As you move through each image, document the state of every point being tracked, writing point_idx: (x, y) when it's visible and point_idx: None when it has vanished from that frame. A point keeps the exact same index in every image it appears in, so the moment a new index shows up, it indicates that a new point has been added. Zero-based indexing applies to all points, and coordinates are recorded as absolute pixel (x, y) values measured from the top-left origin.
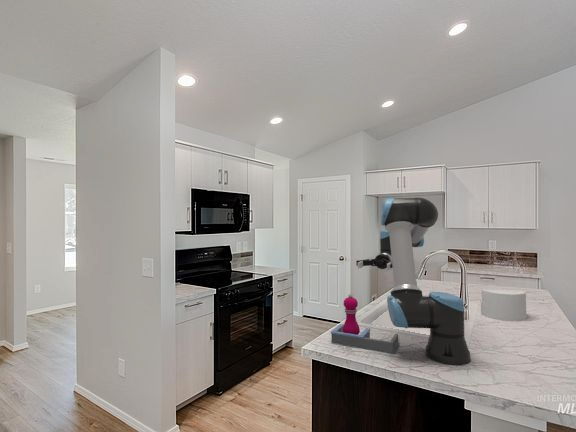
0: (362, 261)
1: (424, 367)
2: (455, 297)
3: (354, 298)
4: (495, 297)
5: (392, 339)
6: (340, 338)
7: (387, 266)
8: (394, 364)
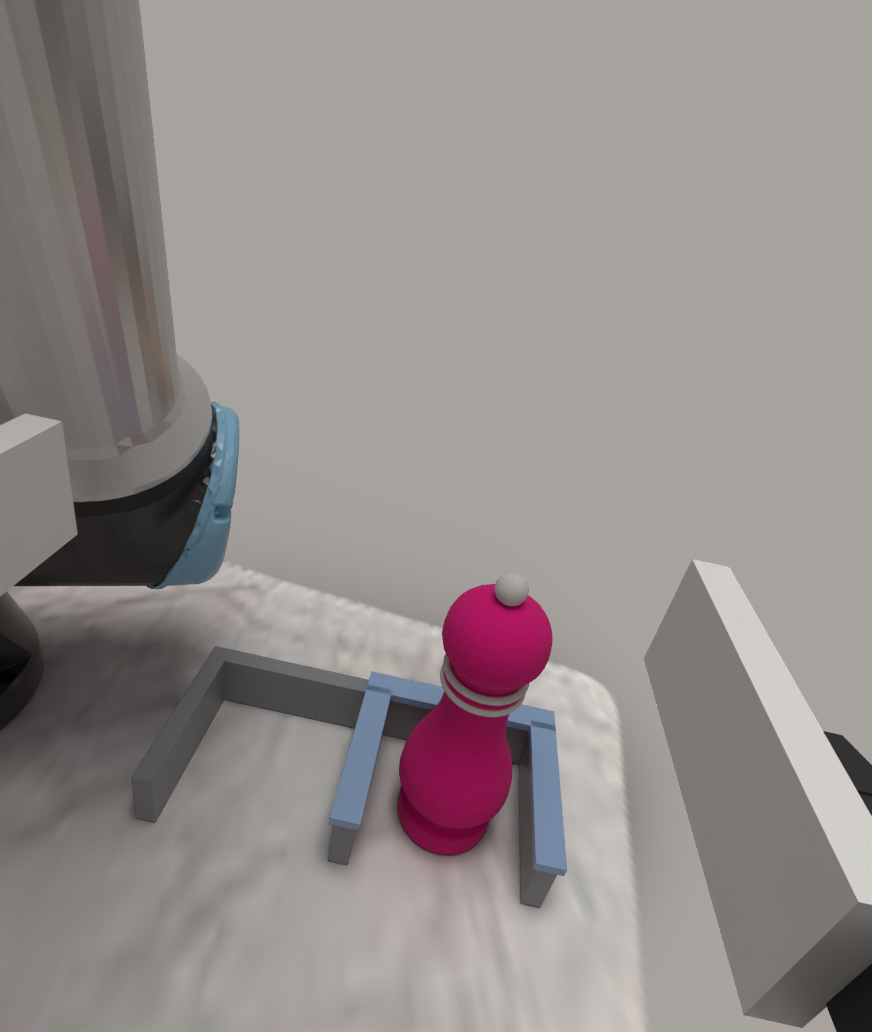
0: (817, 828)
1: (117, 594)
2: None
3: (475, 601)
4: None
5: (204, 686)
6: None
7: (56, 464)
8: (234, 603)
